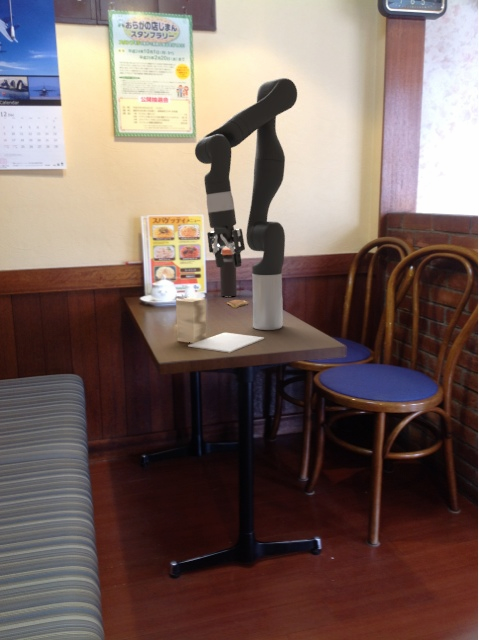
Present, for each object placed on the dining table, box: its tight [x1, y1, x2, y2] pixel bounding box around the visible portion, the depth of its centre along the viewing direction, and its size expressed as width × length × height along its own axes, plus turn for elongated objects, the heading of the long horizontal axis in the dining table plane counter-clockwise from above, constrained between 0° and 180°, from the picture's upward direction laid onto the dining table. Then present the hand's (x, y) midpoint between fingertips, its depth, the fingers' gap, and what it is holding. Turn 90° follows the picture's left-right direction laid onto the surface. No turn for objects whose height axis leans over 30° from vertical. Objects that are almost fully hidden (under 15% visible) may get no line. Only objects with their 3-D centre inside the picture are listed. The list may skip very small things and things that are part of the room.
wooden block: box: [175, 296, 207, 344], centre depth 166 cm, size 6×6×12 cm
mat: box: [187, 332, 265, 354], centre depth 162 cm, size 18×14×1 cm
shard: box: [226, 299, 249, 309], centre depth 222 cm, size 11×8×2 cm
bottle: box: [219, 248, 238, 297], centre depth 242 cm, size 7×7×20 cm
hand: (228, 266), depth 163 cm, fingers open, 8 cm apart
